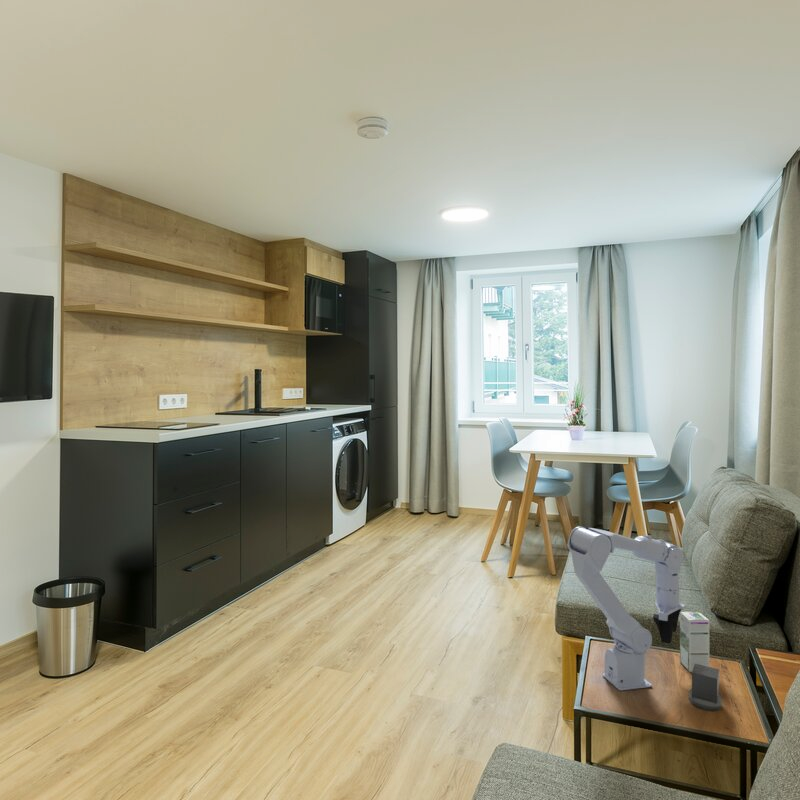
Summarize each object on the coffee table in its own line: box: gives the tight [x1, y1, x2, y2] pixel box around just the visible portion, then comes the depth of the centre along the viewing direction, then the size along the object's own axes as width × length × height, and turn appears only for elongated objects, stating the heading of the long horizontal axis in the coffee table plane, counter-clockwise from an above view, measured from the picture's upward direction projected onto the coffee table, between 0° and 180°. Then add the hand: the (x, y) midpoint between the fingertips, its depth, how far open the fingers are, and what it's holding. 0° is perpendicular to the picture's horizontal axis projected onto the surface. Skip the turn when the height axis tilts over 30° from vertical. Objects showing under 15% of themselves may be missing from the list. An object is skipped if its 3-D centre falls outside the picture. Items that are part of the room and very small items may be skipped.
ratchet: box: [688, 688, 723, 712], centre depth 144 cm, size 14×7×5 cm, turn 147°
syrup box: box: [679, 611, 710, 673], centre depth 158 cm, size 6×6×14 cm
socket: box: [691, 664, 720, 703], centre depth 141 cm, size 5×5×6 cm
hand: (668, 636), depth 155 cm, fingers open, 7 cm apart
